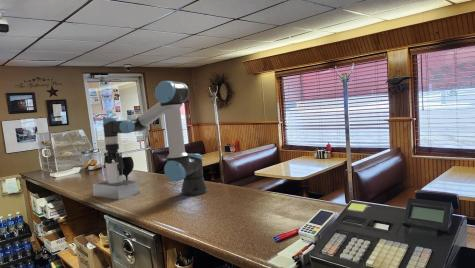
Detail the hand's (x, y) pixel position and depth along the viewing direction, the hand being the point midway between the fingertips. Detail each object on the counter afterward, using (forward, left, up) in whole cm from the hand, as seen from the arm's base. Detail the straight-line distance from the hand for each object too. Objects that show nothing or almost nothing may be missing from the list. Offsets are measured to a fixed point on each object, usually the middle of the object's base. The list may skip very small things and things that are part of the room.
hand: (115, 180), depth 198 cm
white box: (0, 0, -1) cm, 1 cm away
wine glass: (+10, -16, -9) cm, 21 cm away
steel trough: (0, 0, -9) cm, 9 cm away
